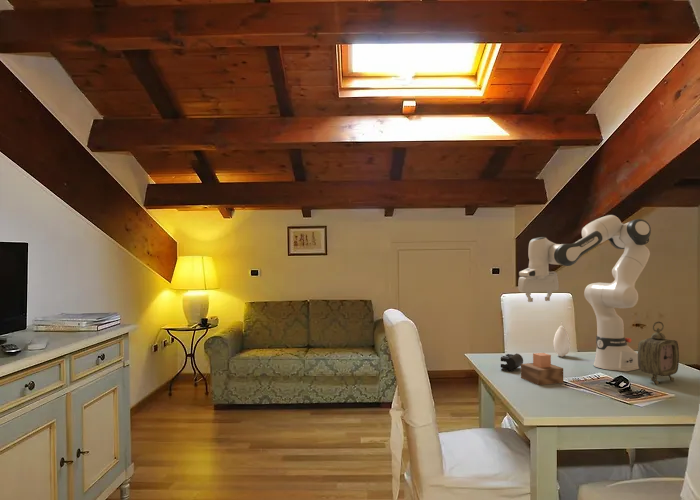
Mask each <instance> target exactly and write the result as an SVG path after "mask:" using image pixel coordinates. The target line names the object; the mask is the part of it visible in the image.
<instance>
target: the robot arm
mask: <svg viewBox="0 0 700 500" xmlns="http://www.w3.org/2000/svg"><path fill="white" fill-rule="evenodd" d="M647 221H648V220H647ZM647 221H646V220H645V219H641V218H636V219H631V220H630V221H628V222H626V223H623V222H622V221H621V219H620V218H619V217H617V216H616V215H614V214H607V215H605V216H602V217H599V218H596V219H594V220H592V221H590V222H589V223H587V224H586V225H585V226H583V227H582V228H581V237H582V238H580V239H578V240H577V241H575V242H573V243H561V244H560V243H555V242H553V241H551V240H549V239H548V238H547V237H546V236H540V237H534V238H532V239H531V240H529V243H528V249H527V250H528V259H529V261H528V267H527V268H525V269H523V270H520V271H519V272H518V276H519V277H518V281H517V282H518V284H517V285H518V286H517V288H518V292H520V293H525V296H526V298H527V302H528V303H533V300H534V298H533V297H531V295H532V293H540V292H543V293H544V292H546V296H545V297H544V301H546V302H551V296H552V295H553V292H557V291H559V287H560V286H559V285H560V283H559V278H558V273H557V272H556V271H550V270H549V269H550V268H549V266H550V265H556V266H557V265H558V266H559V265H560V266H565V267H570V266H573V265H575V264H576V263H577V262H578V261H579V259H580V258H581V257H582V256H583V255H584V254H586V253H588V252H589V251H591V250H593V249H594V248H595V247H597V246H599V245H600V244H602V243H604V242H606V241H609V243H610V244H611V246H613V248H615V249H617V250H623V253H622V254H621V256H620V257H619V259H618V260H617V262H616V263H615V264H614V266H613V268H612V269H611V274H612V277H613V279H614V280H613V281H611V282H593V283H590V284H587V285H586V287H585V288H584V293H583V296H584V298H585V299H584V300H586V301H587V303H588V304H589V305H591V308H592V310H593V312H594V314H595V317H596V328H597V329H596V330H597V331H596V332H597V333H596V334H597V335H596V336H595V343H596V350H595V358H594V362H593V366H594V367H596V368H599V369H604V370H607V371H620V372H630V371H635V370H640V369H639V367H638V352H636V351H635V350H634V349H633V348H631V347H630V346H629V345H628V343H631V342H632V341H633V340H632V338H630V337H625V332H624V331H625V329H624V327H625V326H624V320H623V318H622V317H621V316H620V315H619V314H618V313H617V311H616V309H617V308H618V309H628V308H629V309H630V308H634V307H635V306H636V305H637V304H638V301H639V293H638V290H637V289H636V287H635V286H636V283H637V282H636V281H637V280H638V279H639V277H640V276H641V274H642V272H643V271H644V268H645V267H646V265H647V263H648V261H649V258H650V255H651V252H650V249H649V248H648V247H647V246H646V244H649V242H650V236H651V233H652V230H651V229H652V228H651V225H650V223H649V222H647ZM549 264H550V265H549ZM615 308H616V309H615Z"/></svg>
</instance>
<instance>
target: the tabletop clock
mask: <svg viewBox="0 0 700 500" xmlns="http://www.w3.org/2000/svg"><path fill="white" fill-rule="evenodd" d="M657 324H661V326H662V327H661V328H659V327H657V328H656V329H655V326H656V325H657ZM664 328H665V327H664V323H663V322H662V321H655V322H654V324H653V325H652V330H653V331H654V332H653V333H652V334H651V336H650V337H649V338H645V339H642V340H640V341H639V342H638V344H637V345H638V346H637V354H638V367H639V369H638V370H639V371H641V372H643V373H645V374H651V375H652V376H651V377H650V380H651V381H652V382H653V384H654V385H659V381H658V380H657V379H658V378H657V377H658V376H660V377H669V381H670V382H674V381H675V378H674V377H672V375H675V374H676V373H678V371H679V365H680V364H679V363H680V352H679V343H678V341H677V340H674V339H669V338H666V336H665V334H664V333H662V331H663V330H664Z"/></svg>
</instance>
